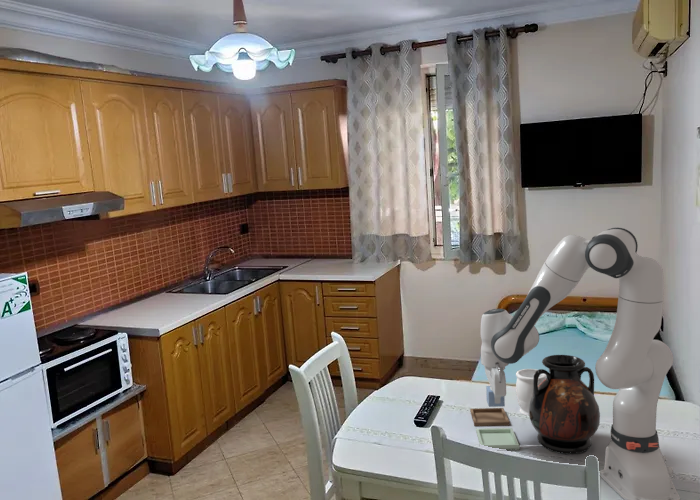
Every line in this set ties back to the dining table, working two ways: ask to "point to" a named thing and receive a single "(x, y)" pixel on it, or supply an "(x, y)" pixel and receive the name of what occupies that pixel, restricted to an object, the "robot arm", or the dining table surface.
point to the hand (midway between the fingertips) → (495, 398)
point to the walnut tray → (489, 417)
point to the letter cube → (491, 398)
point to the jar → (526, 388)
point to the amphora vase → (564, 405)
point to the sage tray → (498, 438)
